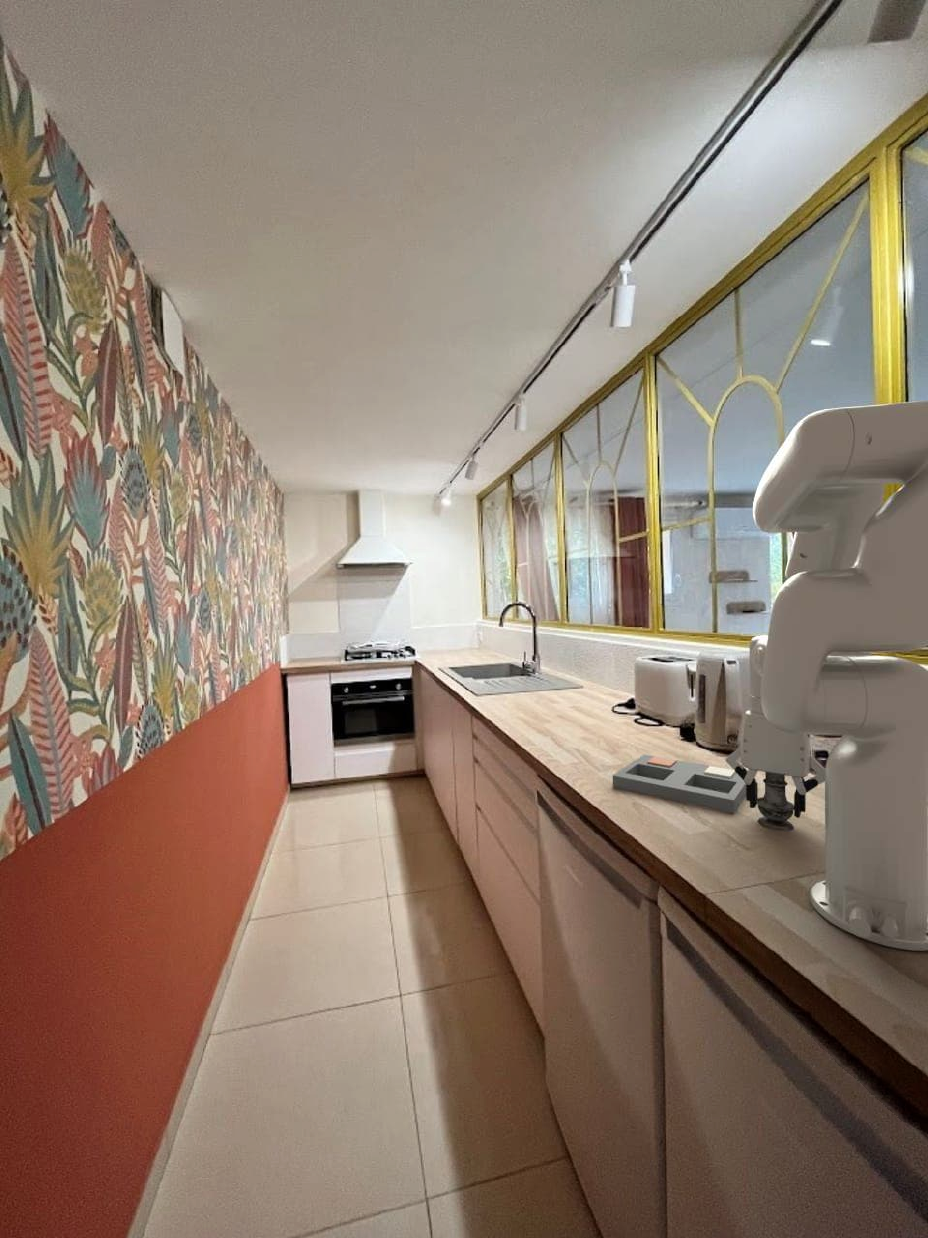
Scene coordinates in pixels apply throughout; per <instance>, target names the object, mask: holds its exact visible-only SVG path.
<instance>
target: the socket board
mask: <svg viewBox="0 0 928 1238" xmlns="http://www.w3.org/2000/svg"><path fill="white" fill-rule="evenodd" d="M612 788H615V789H620V790H626V791H629V792H632V793H639V794H643V795H646V796H651V797H655V798H656V797H657V798H660V799H664V800H665V799H666V800H670V801H675V802H679V803H684V804H687V805H693V806H697V807H702V808H705V809H706V808H707V809H710V810H714V811H720V812H724V813H727V814H731V815H732V814H735V813H736V812H737V810H738V809H739V807H740V806H741V804H742V803H743V800H744V799H746V784H745V783H744V780H743V779H742V778H741V777H740V776H739V775H738V774H737V773H736V772H735V770H734V769H732V768H731V769H730V768H725V767H718V766H714V765H708V764H707V765H706V764H701V763H695V762H690V761H685V760H678V759H672V758H666V757H660V756H655V755H654V756H653V755H648V754H642V755H641V756H640V757H638V758H636V759H635V760H633V761H632V762H631V763H629V764H628V765H626V766H625V767H623V768H621V769H620V770H619V771H617V772H615V773H614V774H612Z"/></svg>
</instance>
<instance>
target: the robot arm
mask: <svg viewBox="0 0 928 1238" xmlns="http://www.w3.org/2000/svg"><path fill="white" fill-rule="evenodd" d="M885 484H887V485H888V484H900V485H902V487H900V488H899V489H898V490H897V491H895V492H894V493H893V494H892V495H891V496H889V497H888V498H887V499H886V500H885V501H884V497H885V491H886V490H885V489H886V488H885V487H886V486H885ZM752 504H753V506H752V515H753V520H754V523H755V525H756V527H757V529H759V530H760V531H762V532H764V533H768V534H772V533H773V534H774V533H775V534H778V533H780V534H781V533H794V535H793V542H792V544H791V549H790V552H789V555H788V559H787V564H786V567H785V573H784V575H785V576H784V577H785V579H786V581H785V582H783V584H782V585H781V586H780V588H779V590H778V591H777V593H776V596H775V598H774V601H773V604H772V605H773V606H772V609H771V615H770V620H769V621H770V622H769V625H768V626H769V627H768V632H767V635H764V634H763V635H757V636H754V637H752V638H751V640H750V642H749V710H746V711H745V714H744V718H743V723H742V732H741V733H742V734H741V741H740V743H741V744H740V746H739V747H738V748H737V749H736V750H735V751H733V752H732V753H730V754H729V755H728V756H727V757H726V758H725V763H726V764H728V765H729V766H730V767H731V769H732V770H735V772H736V773H737V774H738V775H739V776H740V777H741V778H742V779H743V780H744V783H745V784H746V796H745V799H746V801H747V802H749V807H750V809H755V808H756V807H757V806H758V804H757V803H756V799H758V798H759V797H758V782H757V780H756V778H755V777H756V775H757V774H758V772H763V773H765V772H768V773H774V774H780V775H785V777H791V779H792V780H793V783H794V786H795V790H794V795H793V804H794V810H793V815H794V817H795V818H797V819H800V817H801V815H802V813H806V808H807V807H806V806H807V805H806V804H807V803H806V802H807V801H806V799H807V798H806V794H807V793H808V792H810V791H812V790H813V789H815V788H817V786H819V785H820V784H822V783H824V833H825V834H824V838H825V839H824V843H825V844H824V846H825V848H824V849H825V850H824V851H825V852H824V855H825V856H824V858H825V859H824V864H825V865H824V866H825V867H824V869H825V871H824V875H825V877H824V878H825V879H824V880H821V881H819V882H816V883H815V884H814V885H812V887H811V888H810V892H809V894H810V902H811V904H812V906H813V908H814V909H815V910H816V912H818V914H819V915H821V916H822V917H823V918H824V919H825V920H827V921H828V922H829V923H831V924H833V925H834V926H836V927H838V928H840V929H841V930H842V931H846V932H848V933H849V934H852V935H854V936H855V937H858V938H861V939H863V940H866V941H869V942H871V943H875V944H878V945H881V946H885V947H890V948H894V949H897V950H904V951H905V950H906V951H917V952H925V951H928V669H926V668H925V667H923V666H922V665H921V664H918V663H917V662H914V661H912V660H909V659H906V658H901V657H895V656H888V655H871V654H872V653H900V652H901V653H903V652H913V651H917V650H922V649H924V648H926V647H928V400H923V401H922V400H920V401H907V402H906V401H905V402H894V403H893V402H891V403H883V404H872V405H861V406H848V407H847V406H845V407H837V408H829V409H828V408H826V409H823V410H818V411H815V412H812V413H810V414H808V415H807V416H805V417H804V418H802V419H801V420H800V421H799V422H797V424H796V425H795V426H794V427H793V428H792V430H791V432H790V433H789V435H788V436H787V437H786V439H785V441H784V442H783V443H782V445H781V446H780V448H779V450H778V451H777V453H776V454H775V456H774V457H773V459H772V460H771V461H770V463H769V465H768V466H767V468H766V470H765V471H764V473H763V476H762V477H761V479H760V482H759V484H758V486H757V489H756V491H755V495H754V500H753V503H752ZM811 735H820V736H821V735H825V736H826V735H829V736H830V735H831V736H841V737H840V738H839V740H838V741H837V742H836V744H835V745H834V746H833V748H832V749H831V751H830V752H829V755H828V756H827V757H828V758H827V760H826V764H825V767H824V766H823V765H822V764H821V763H820V762H819V761H818V760H817V759H816V758H815V757H814V756H813V755H812V746H811V745H812V744H811V743H812V742H811ZM739 759H740V762H741V764H740V762H739V761H738V760H739ZM747 769H748V770H747ZM811 769H812V770H813V771H814V772H815V775H814V776H812V777H810V778H808V779H807V780H806V779H805V777H808V776H809V774H810V771H811Z"/></svg>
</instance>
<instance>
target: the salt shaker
mask: <svg viewBox="0 0 928 1238" xmlns="http://www.w3.org/2000/svg"><path fill="white" fill-rule="evenodd" d="M764 773H765V775H764V776H765V778H763V780H762V782H763V783H764V794H763V797H758V799H756V803H757V808H758V812H760V814H761V815H762V817H759V818H758V819H757V822H758V824H759V825H761V826H762V827H763V828H767V829H771V830H773V831H779V832H780V831H781V832H786V831H787V832H788V831H792V830H793V829H794V826H795V825H793V824H792V823H791V822H790V821H788V820H789V819H791V818H792V816H793V815H794V803H792V802H790V801H788V799H787V796H786V786H787V785H788V782H787V781H786V775H780V774H774V773H768V772H764Z"/></svg>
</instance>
